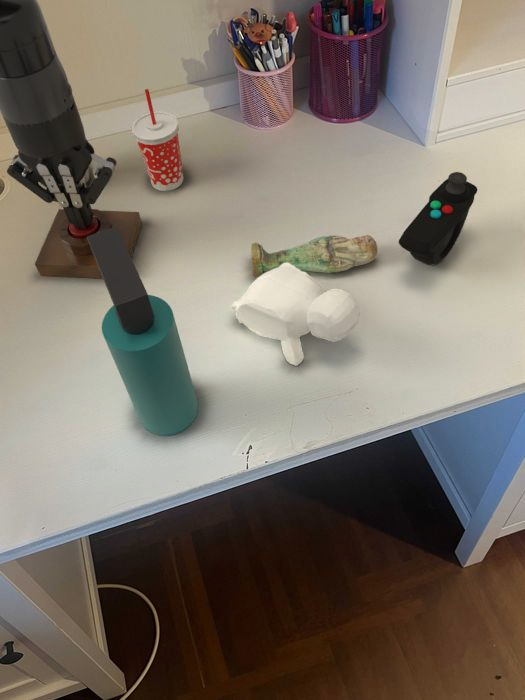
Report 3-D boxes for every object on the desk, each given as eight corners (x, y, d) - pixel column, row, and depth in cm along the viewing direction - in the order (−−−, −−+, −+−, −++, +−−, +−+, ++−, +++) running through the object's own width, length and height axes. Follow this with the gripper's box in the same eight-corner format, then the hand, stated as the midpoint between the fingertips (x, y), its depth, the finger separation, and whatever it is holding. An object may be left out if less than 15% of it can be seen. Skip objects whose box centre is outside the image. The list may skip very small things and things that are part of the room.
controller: (470, 235, 82) (486, 170, 74) (420, 297, 77) (432, 234, 69) (439, 222, 84) (452, 157, 76) (389, 281, 79) (396, 219, 71)
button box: (40, 275, 83) (29, 253, 80) (63, 221, 89) (54, 198, 86) (124, 279, 82) (116, 257, 79) (142, 224, 88) (135, 201, 84)
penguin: (242, 350, 78) (341, 381, 68) (213, 295, 73) (317, 320, 63) (285, 304, 82) (386, 328, 71) (261, 249, 77) (366, 266, 66)
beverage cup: (140, 175, 94) (115, 85, 83) (179, 161, 95) (161, 71, 84) (154, 200, 90) (130, 110, 79) (195, 185, 92) (178, 95, 80)
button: (69, 244, 83) (65, 234, 81) (77, 224, 85) (73, 214, 83) (96, 245, 82) (93, 235, 81) (104, 225, 84) (100, 215, 83)
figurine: (254, 247, 84) (252, 225, 81) (375, 247, 82) (377, 224, 79) (251, 279, 80) (248, 257, 77) (377, 279, 79) (379, 257, 76)
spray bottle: (206, 421, 69) (173, 296, 53) (149, 445, 68) (97, 324, 52) (172, 345, 75) (133, 213, 59) (119, 365, 74) (64, 236, 58)
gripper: (-38, 120, 67) (23, 243, 81) (86, 122, 65) (127, 248, 79) (-11, 79, 71) (43, 202, 85) (106, 79, 69) (142, 205, 83)
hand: (83, 224), depth 82 cm, fingers closed
